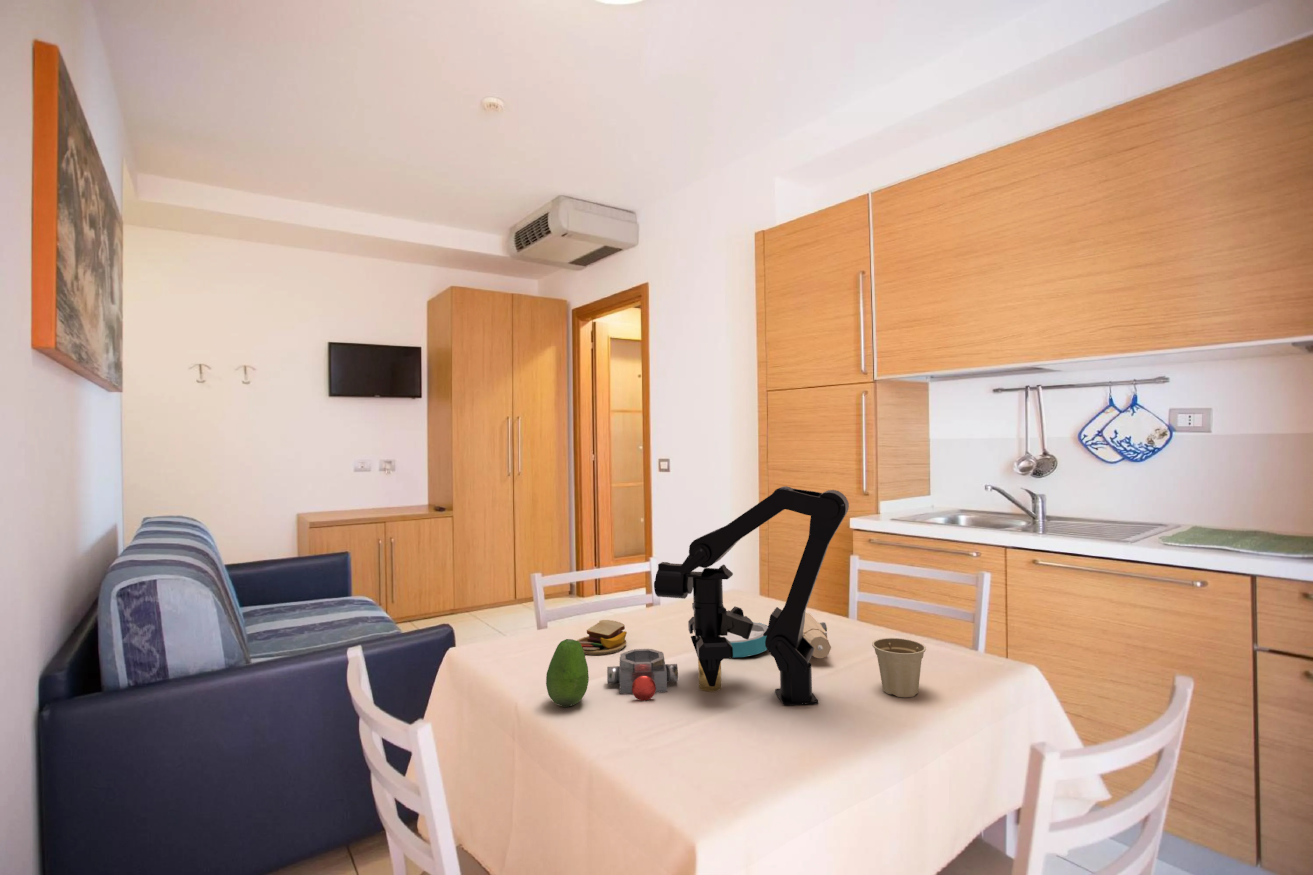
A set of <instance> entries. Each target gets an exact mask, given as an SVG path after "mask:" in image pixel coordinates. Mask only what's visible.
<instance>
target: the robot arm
mask: <svg viewBox="0 0 1313 875" xmlns="http://www.w3.org/2000/svg"><path fill="white" fill-rule="evenodd" d="M849 504H850V503H849V500H848V498H847V496H846V495H844V493H842V492H841V491H839V490H835V489H830V490H829V489H828V490H826V491H824V492H819V491H813V490H805V489H799V488H798V489H797V488H794V487H791V486H787V485H785V486H780V487H778V488H776V489H775V490H774V491H773V492H772V493H771V494H770V495H768V496H767V497H765V498H764V499H762V500H761V501H759V502H758V503H757V504H755V505H754V506H752V507H751V508H749V509H748V510H747V511H745V512H744V513H742V514H741V515H739V516H738V517H737V518H735V519H734V520H732V521H731V522H730V523H728V524H726V525H724V526H722V527H719V528H717V529H715V530H713V531H711V532H708V533H706V534H704V535H702V536H700V537H697V538H695V539H694V540H693V541H692V542H691V543H690V544H689V546H688V547H689V549H688V555H687V557H686V558H685V559H684V561H683V562H682V563H670V562H669V561H661V562H660V563H658V564H657V565H658V566H657V568H658V569H657V571H656V574H655V579H654V581H653V589H654V594H655V595H656V597H658V598H673V599H681V600H682V599H683V600H685V599H687V597H688V595H691V594H693V598H692V599H693V600H692V601H693V602H692V603H691V604H692V605H691V606H692V607H691V608H692V610H693V616H692V617H691V618H689V620H688V621H687V623H688V632H689V634H691V636H690V640H691V642H692V645H693V647H694V650H695V653H696V656H697V660H698V659H699V661H700V664H701V666H702V669H703V671H704V674H705V676H706V679H707V682H708V684H709V686H710V687H711V686H715V684H716V679H717V675H718V671H719V666H720V663H721V664H722V661H723V660H727V659H728V660H731V659H733V658H734V657H733V647H732V645H731V643H730V642H729V641H728V640H727V639H726V638H725V637H720V635H721V636H727V632H729V633H732V634H735V635H738V636H741V637H742V638H744V639H749V636H750V633H751V630H752V627H753V624H754V623H755V622H754V623H753V621H752V620H751V618H750V617H748V616H747V615H744V611H743V608H741V607H738V606H733V608H732V609H731V610H727V608H726V607H725V606H724V600H723V599H724V595H723V591H724V590H723V580H729V579H730V578H732V577H733V575H734V573H733V572H732V571H731V570H729V569H728V568H727V566H726V565H725V564H722V565H720V566H719V568H715V567H714V568H712V566H713V565H714V564H716V563H717V562H720V560H721V559H722V558H723V557H724V556H726V555H727V554H728V552H729V551H730V550H732V548H733V547H734V546H735V545H736V544H737V543H738V542H739V541H741V539H743V538H744V537H746V536H748V535H749V534H751V533H752V532H753V531H754V530H756V529H758V528H759V527H760V526H763V525H764V524H765V523H766V522H768V521H769V520H771V519H772V518H774V517H775V516H777V515H779V513H781V512H783V511H785V510H787V511H791V512H795V513H797V514H801V515H805V516H810V519H809V528H808V529H809V530H808V538H807V541H806V545H805V546H804V547H805V548H804V549H803V552H802V555H801V559H800V561H799V564H798V567H797V569H796V572H795V575H794V578H793V582H792V584H791V586H790V589H789V592H788V595H787V598H786V600H785V603H784V607H783V609H781V608H779V607H777V606H776V607H775V609H773V611H772V612H771V613H770V616H769V620H768V625H767V626H768V628H767V630H766V631H765V633H764V634H763V636H767V637H766V640H765V646H766V648H767V650H766V651H767V652H768V654H769V655H770V656H771V657H773V658H774V661H775V663H776V666H777V669H778V672H779V681H780V682H779V683H780V686H779V688H775V689H774V692H775V694H776V695H777V697H778V699H779V701H780V702H781V703H782V705H783V706H794V705H797V706H798V705H816V704H819V699H818V698H817V697H816V695H815V694H814V692H813V679H812V678H813V676H812V674H813V673H812V672H813V671H812V663H811V659H812V657H813V652H814V647H813V646H812V645H811V644H810V643H809V642H808V641H807V640H806V639H805V638H804V637H803V630H804V623H805V612H806V610H807V608H808V605H809V603H810V602H809V601H810V598H811V595H812V593H813V590H814V587H815V584H816V583H817V582H816V581H817V579H818V576H819V573H820V570H821V568H822V565H823V562H824V560H825V557H826V553H827V552H828V548H829V545H830V543H831V540H832V539H833V538H834V536H835V534H836V533H837V531H838V529H839V527H840V526H841V524H842V522H843V520H844V519H845V517H846V516H847V513H848V512H849V508H850V506H849ZM697 568H703V570H702V571H696V569H697ZM694 570H695V571H694ZM692 634H694V635H692Z"/></svg>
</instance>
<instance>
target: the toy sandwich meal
mask: <svg viewBox="0 0 1313 875" xmlns="http://www.w3.org/2000/svg"><path fill="white" fill-rule="evenodd" d="M624 630H625V624H624V623H622V622H621V621H617V620H610V619H601V620H599V622H597V623H596V624H594V625H592V626H591V627H590V628H588V629H586V634H587V635H588V636H584V637H581V638H579V639H577V640H576V641H579V642H580V643H581V646H582V648H583V651H584V655H590V656H591V655H593V656H601V655H610V654H614V653H617V652H620V651H621V650H622V649H624V648H625V646H626V645H627V639H626V636H627V633H628V632H627V631H626V630H625V631H624Z"/></svg>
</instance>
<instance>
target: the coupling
mask: <svg viewBox="0 0 1313 875" xmlns="http://www.w3.org/2000/svg"><path fill="white" fill-rule="evenodd" d="M697 662H698V664H697V666H698V667H697V668H698V688H699V690H701V691H702V692H708V693H710V692H711V693H713V692H718V691H721V689H722V662H721V663H720V666H719V671H718V675H717V679H716V684H715V686H711V687H710V686H709V684H708V682H707V679H706V676H705V674H704V671H703V669H702V666H701V664H700V661H699V659H698V658H697Z"/></svg>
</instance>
